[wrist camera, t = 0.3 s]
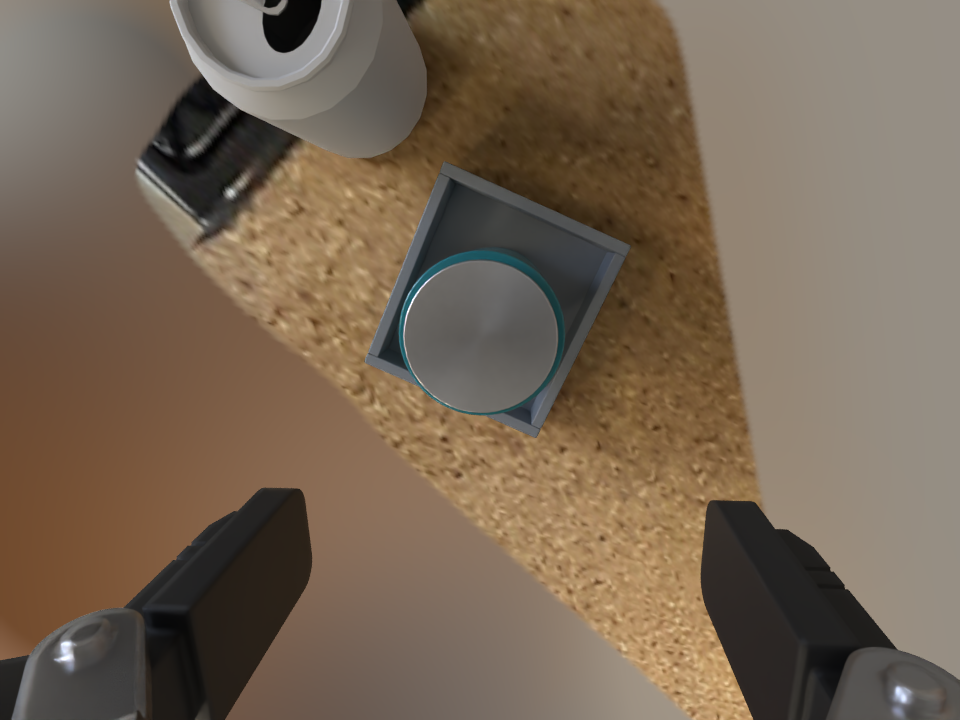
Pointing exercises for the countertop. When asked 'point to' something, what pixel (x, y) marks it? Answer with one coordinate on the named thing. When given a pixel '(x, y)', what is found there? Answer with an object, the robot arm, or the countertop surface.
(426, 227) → the gray rectangular tray
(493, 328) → the slim can
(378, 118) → the can
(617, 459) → the countertop surface
